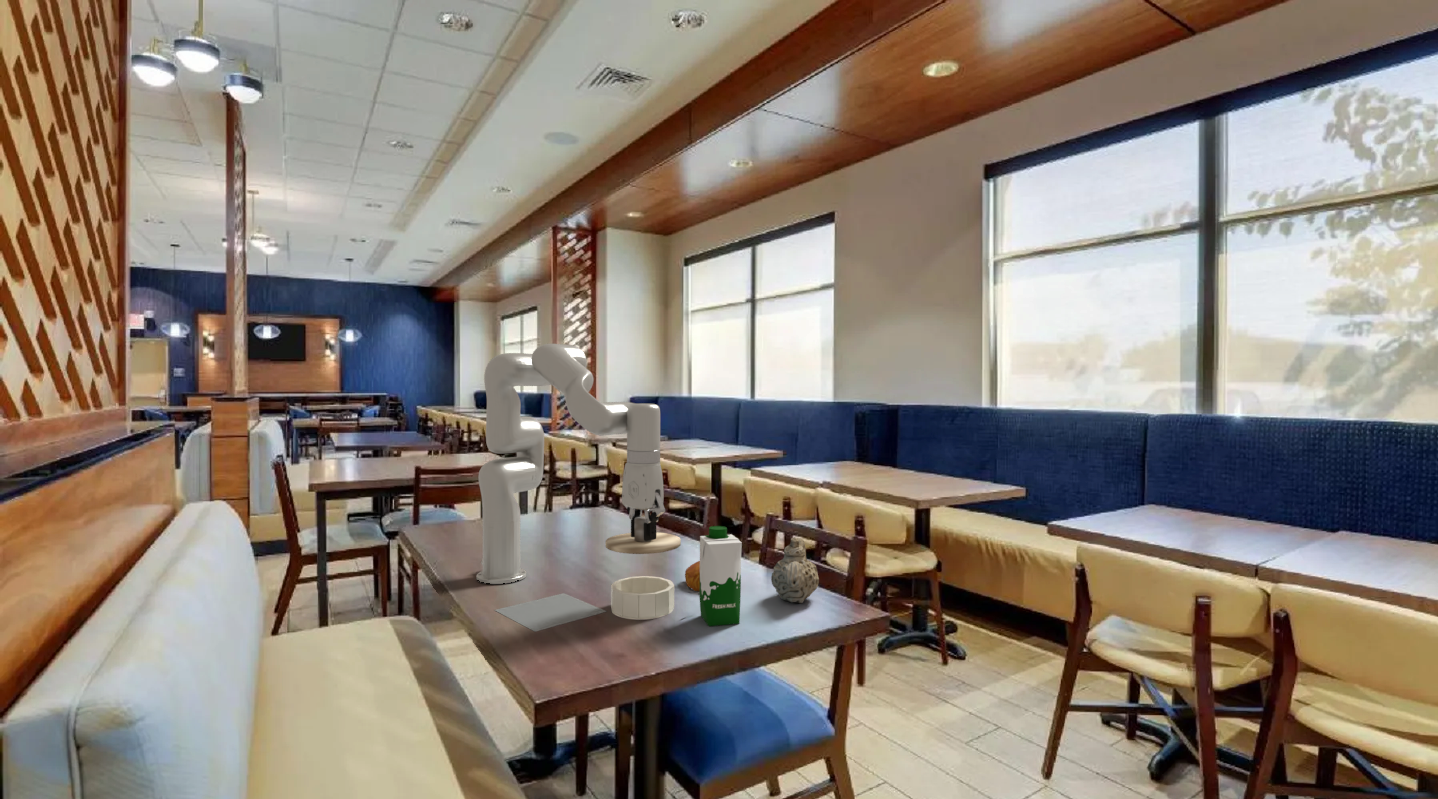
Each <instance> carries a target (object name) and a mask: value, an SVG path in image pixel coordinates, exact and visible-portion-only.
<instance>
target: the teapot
mask: <svg viewBox="0 0 1438 799" xmlns="http://www.w3.org/2000/svg"><path fill="white" fill-rule="evenodd" d="M783 553H784V554H783V558H781V560H778V561H777V562H776V564H775V565H774V566H773V572H772V573H771V577H770V579H771V580H770V582H771V585H772V586H773V588H775V592H776V593H777V594H778V596H779V597H780V598H781V600H783V601H786V602H790V603H797V604H803V603H804V602H805V600H806V599H808V598H809V597H810V596H811V595H813V593H814V592H815V590H817V588H818V586H819V583H820V578H819V575H818V574H819V573H818V569H817V568H818V567H817V565H816V564H814V562H811V561H810V560H808V559H807V547H806V543H805V540H804V539H803V538H801V537H796V536H794V537H791V539H790V543H789V544H788V545H787V546H785V547H784V550H783Z"/></svg>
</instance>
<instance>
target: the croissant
mask: <svg viewBox="0 0 1438 799" xmlns="http://www.w3.org/2000/svg"><path fill="white" fill-rule="evenodd" d="M684 578H685V584H686V585H687V587H689V589H691V590H693V591H694V592H698V593H699V588H700V560H698V561H696V562H694V563H692V564H691V565H689V566H688V567H687V568H686V570H685V572H684Z"/></svg>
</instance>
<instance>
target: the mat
mask: <svg viewBox="0 0 1438 799" xmlns="http://www.w3.org/2000/svg"><path fill="white" fill-rule="evenodd" d="M494 612H497V613H498V614H500V615H502V616H504V617H506V618H508V619H510V620H512V621H514V622H516V623H517V624H519V625H521V626H523V627H525V628H527V629H529V630H530V631H533V632H534V633H536V632H539V631H543V630H547V629H549V628H554V627H558V626H561V625H564V624H568V623H571V622H575V621H578V620H582V619H586V618H590V617H592V616H596V615H600V614H603V613H607V612H608V611H607V610H605V609H602V608H600V607H598V606H596V605H592V604H591V603H589V602H586V601H583V600H582V599H578V598H576V597H574V596H572V595H569V594H567V593H564V592H562V593H560V594H554V595H551V596H550V595H549V596H545V597H543V598H538V599H535V600H530V601H526V602H520V603H518V604H513V605H509V606H506V607H502V608H497V609H494Z"/></svg>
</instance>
